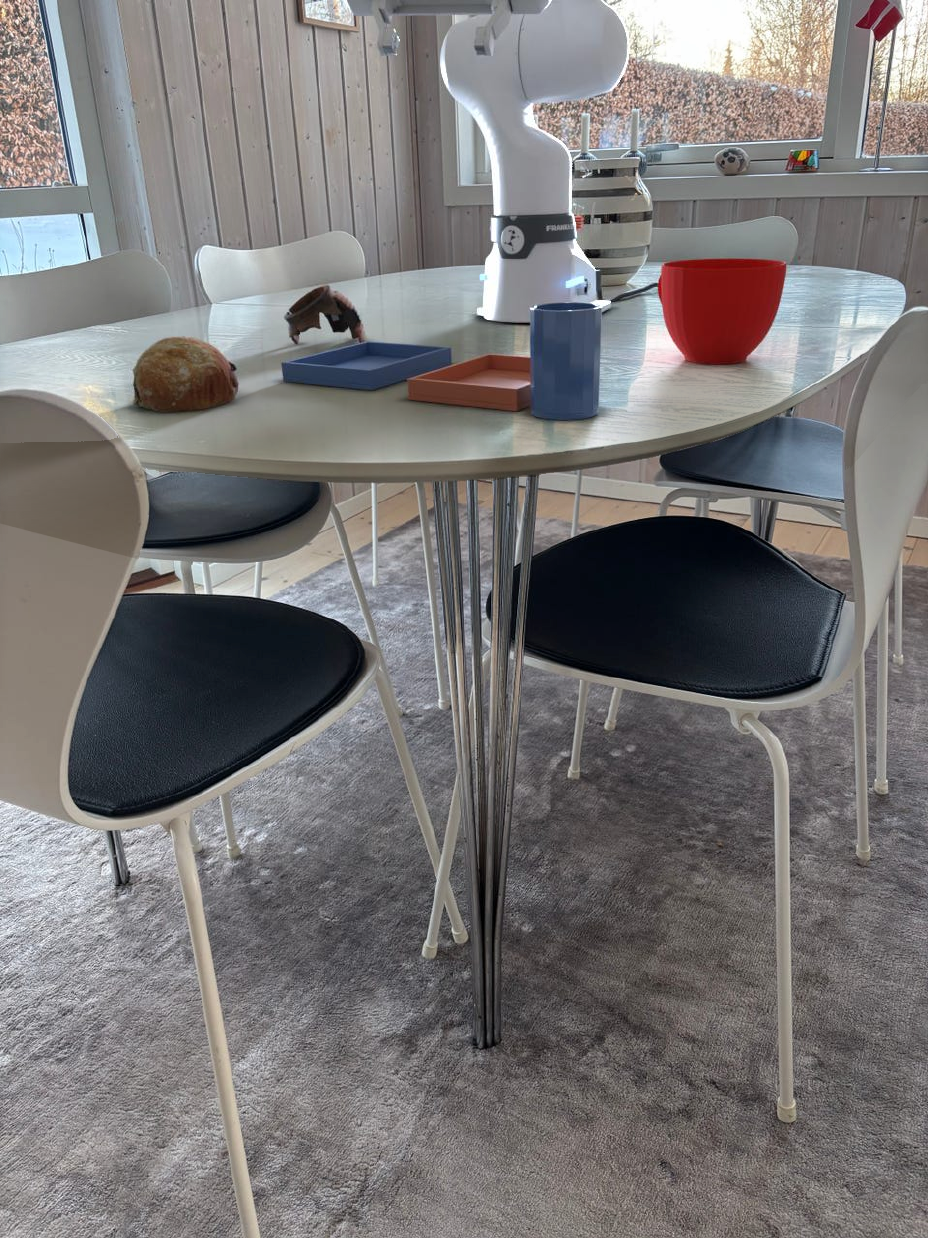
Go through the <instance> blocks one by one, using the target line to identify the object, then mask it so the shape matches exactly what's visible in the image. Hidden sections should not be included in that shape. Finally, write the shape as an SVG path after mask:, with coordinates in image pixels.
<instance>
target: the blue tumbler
mask: <svg viewBox="0 0 928 1238" xmlns="http://www.w3.org/2000/svg"><path fill="white" fill-rule="evenodd" d="M602 316H603V312H602V305H599V304H596V303H586V302H557V303H545V304H538V305H534V306H531V308H530V322H529V357H530V406H529V407H530V414H531V415H532V416H534V417H536V418H538V419H543V420H551V421H575V420H576V421H577V420H584V419H588V418H592V417H595V416H597V415H598V414H599V407H600V386H601V385H600V380H601V353H602V352H601V349H602V345H601V344H602V322H603V321H602V319H603V317H602Z"/></svg>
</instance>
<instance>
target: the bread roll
mask: <svg viewBox="0 0 928 1238" xmlns="http://www.w3.org/2000/svg"><path fill="white" fill-rule="evenodd" d="M236 371H237V367H236V365H235V364H234V363H232V362H231V361H230V360H228V359H227V358H226V356H225V355H224V354H223V353H222V352H221V351H220V350H219V349H218V348H217V347H215V346H214V345H212V344H210V343H207V342H206V341H203V340H201V339H199V338H195V337H192V336H191V337H189V336H188V337H187V336H184V335H181V336H165V337H162V338H161V339H158V340H156V341H155V342H153V343H152V344H151V345H149V346H148V347H147V348H146V349H145V350H144V351H143V352H142V353H141V355H140V356H139V357H138V359H137V361H136V363H135V366H134V368H133V369H132V372H133V373H132V374H133V382H132V383H133V384H132V387H133V391H134V395H133V398H134V399H133V401H132V404H133V405H134V406H138V407H141V408H144V409H148V410H153V411H155V412H160V413H181V412H182V413H183V412H192V411H199V410H205V409H209V408H214V407H218V406H222V405H225V404H227V403H229V402H232V401H233V400H235V398H236V395H237V394H238V392H239V385H240V384H239V380H238V376H237V375H236V373H235V372H236Z"/></svg>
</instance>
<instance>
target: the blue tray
mask: <svg viewBox="0 0 928 1238" xmlns="http://www.w3.org/2000/svg"><path fill="white" fill-rule="evenodd" d="M452 361H453V360H452V347H451V346H439V345H425V344H411V343H399V342H397V343H396V342H384V341H383V342H382V341H371V340H369V341H368V340H366V341H365V342H362V343H354V344H351V345H346V346H342V347H339V348H334V349H330V350H326V351H322V352H319V353H314V354H310V355H305V356H302V357H298V358H294V359H290V360H286V361H282V362H281V363H280V365H281V372H282V373H281V374H282V382H287V383H295V384H297V383H298V384H305V385H306V384H307V385H316V386H324V387H325V386H326V387H337V388H343V389H344V388H345V389H355V390H362V391H374V390H377V389H380V388H384V387H387V386H390V385H394V384H396V383H400V382H403V381H407V380H408V379H409V378H412V377H415V376H418V375H421V374H425V373H428V372H431V371H434V370H437V369H441V368H444V367H447V366H450V365H453V362H452Z"/></svg>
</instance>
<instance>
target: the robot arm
mask: <svg viewBox="0 0 928 1238" xmlns="http://www.w3.org/2000/svg"><path fill="white" fill-rule="evenodd" d="M343 2H344V3H345V5H346V6H347V8H348V10H349V11H350V12H351V14H352V15H353V16H355V17H373V19H374V20H375V23H376V26H377V28H378V36H377V43H376V44H377V50H378V52H379V54H380V56H381V57H389V56H390V57H393V56H394V57H396V56H398V52H399V51H398V48H399V45H400V39H399V36H398V35H397V31H396V29H395V27H388V26H387V25H390V24H392V21H393V17H394V16H395V17H397V16H400V17H401V16H406V17H407V16H472V17H468V18H466V19H463V20H461V21H459V22H455V23H453V25H451V26H450V28H449V29H448V30H447V33H446V35H445V37H444V39H443V41H442V45H441V49H440V55H439V60H440V61H439V64H440V65H439V66H440V73H441V77H442V80H443V82H444V85H445V87H446V89H447V91H448V93H449V94H450V95H451V96H452V97H453V99H454V100H455V101H456V102H458V103H459V104H460V105H462V106H463V108H464V109H466V110H467V112H468V113H469V114H470V116H472V117H473V119H474V121H475V123H476V124H477V126H478V127H479V129H480V131H481V133H482V135H483V137H484V140H485V143H486V146H487V150H488V153H489V154H488V155H489V159H490V160H489V161H490V167H491V179H492V180H491V181H492V196H493V198H492V199H493V200H492V201H493V215H492V216H491V217H490V226H489V231H490V241H491V243H493V246H492V248H491V251H490V253H489V254H488V255H487V257H486V258H485V263H484V273H481V274H479V281H483V296H482V297H483V298H482V306H479V307H477V310H476V315H477V316H481V317H483V318H484V320H487V321H493V322H499V323H500V322H501V323H529V324H530V308H531V306H534V305H538V304H545V303H557V302H586V303H596V304H599V305H602V313H604V312H606V311H608V310H609V309H611V308H612V304H611V303H614V302H618V301H621V300H622V299H624V298H627V297H631V296H634V295H637V294H641V293H645V292H647V291H649V290H650V291H651V290H652V289H655V288H658V281H657V282H652V283H650V284H648V285H645V286H643V287H639V288H634V289H632V290H627V291H624V292H621V293H619V294H617V295H616V296H614V297H612V298H610V299H606V298H605V297H604V296H603V290H602V269H595V266H593V265H592V263H591V262H590V260H589V259H588V257H587V256H586V255H585V254H584V252H583V251H582V249H581V248H580V246H579V245H578V243H577V241H576V239H577V238H578V234H577V231H581V230H583V227H584V223H585V222H584V218H583V215H582V214H578V215H574V213H573V212H572V173H573V172H572V171H573V169H572V167H573V166H572V165H573V163H572V157H571V154H570V152H569V149H568V148H567V146H566V145H565V144H564V143H563V142H562V141H561V140H560V139H558V138H556V137H555V136H554V135H552V134H550V133H548V132H546V131H544V130H542V129H540V128H539V127H538V126H537V124H536V123H535V120H534V116H533V105H535V104H546V103H547V104H549V103H563V102H578V101H583V100H586V99H590V98H593V97H596V96H601V95H602V94H606V93H609V92H612V91H613V90H614V89H615V88H616V86H617V85H618V84H619V82H620V80H621V78H622V77H623V75H624V73H625V71H626V67H627V65H628V60H629V54H630V53H629V52H630V43H629V35H628V32H627V28H626V25H625V23H624V21H623V19H622V17H621V16H620V14H618V12H617V11H616V10H615V9H614V7H612V6H611V5H609V4H608V3H606V2H605V1H604V0H343Z"/></svg>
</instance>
